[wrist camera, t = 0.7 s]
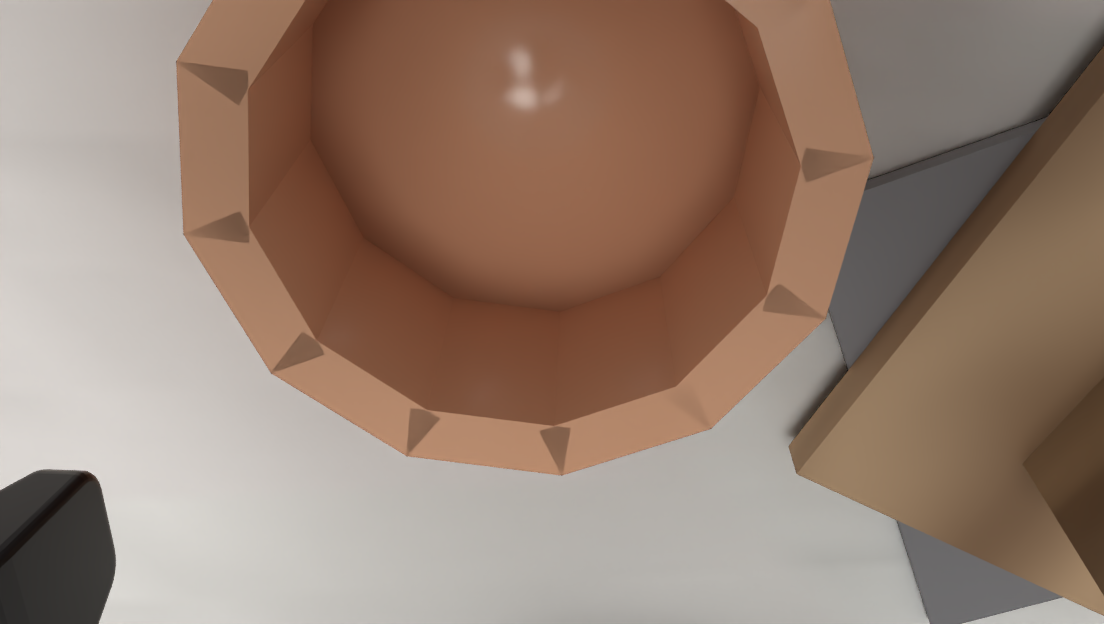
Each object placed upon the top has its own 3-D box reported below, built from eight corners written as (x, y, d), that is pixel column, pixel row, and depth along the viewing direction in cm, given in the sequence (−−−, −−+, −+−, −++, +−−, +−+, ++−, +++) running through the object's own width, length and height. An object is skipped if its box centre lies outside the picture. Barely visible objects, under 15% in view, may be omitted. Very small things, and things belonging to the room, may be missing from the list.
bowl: (857, 231, 21) (930, 360, 16) (413, 384, 23) (372, 534, 18) (699, -301, 16) (741, -318, 12) (168, -54, 19) (39, 8, 14)
